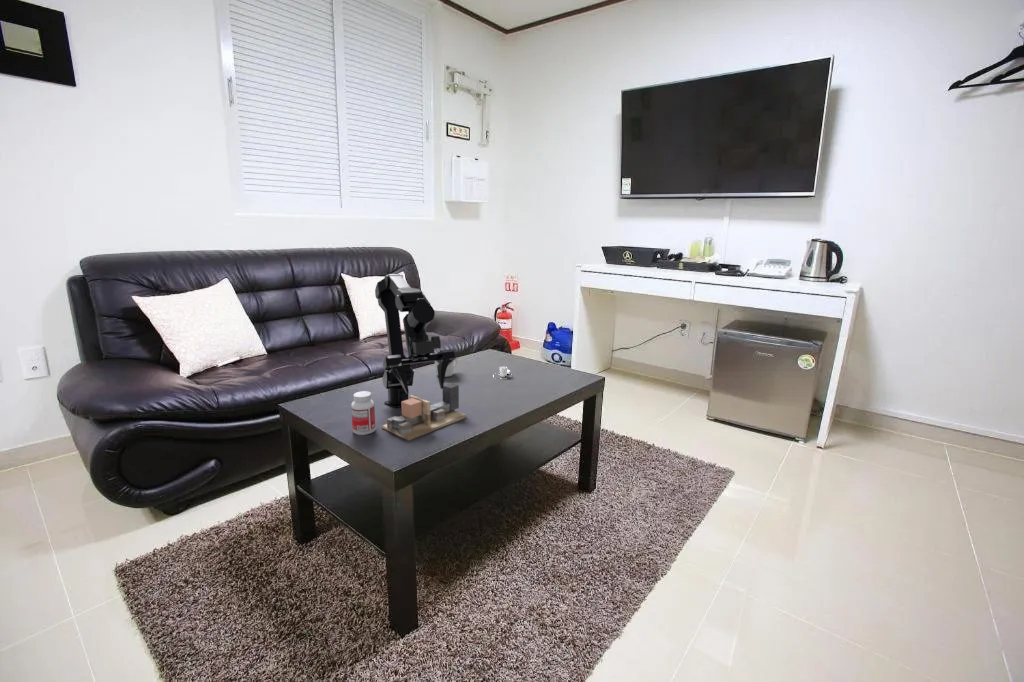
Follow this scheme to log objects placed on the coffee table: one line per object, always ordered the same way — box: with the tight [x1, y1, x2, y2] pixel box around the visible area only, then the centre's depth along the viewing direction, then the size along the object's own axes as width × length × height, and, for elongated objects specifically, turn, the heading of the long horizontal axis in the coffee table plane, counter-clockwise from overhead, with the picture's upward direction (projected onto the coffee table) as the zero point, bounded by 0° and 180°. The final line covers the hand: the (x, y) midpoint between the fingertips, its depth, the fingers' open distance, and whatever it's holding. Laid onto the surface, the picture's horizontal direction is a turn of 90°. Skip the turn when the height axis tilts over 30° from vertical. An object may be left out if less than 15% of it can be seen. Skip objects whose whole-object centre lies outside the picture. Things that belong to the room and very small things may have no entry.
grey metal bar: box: [393, 382, 460, 430], centre depth 140 cm, size 4×22×8 cm, turn 141°
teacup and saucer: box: [492, 365, 511, 378], centre depth 185 cm, size 9×8×4 cm
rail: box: [381, 394, 467, 442], centre depth 139 cm, size 12×22×8 cm, turn 141°
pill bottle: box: [350, 390, 376, 436], centre depth 132 cm, size 6×6×11 cm
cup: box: [434, 357, 459, 378], centre depth 184 cm, size 11×8×8 cm
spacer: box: [400, 398, 422, 419], centre depth 135 cm, size 4×4×4 cm
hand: (425, 391), depth 125 cm, fingers open, 9 cm apart
